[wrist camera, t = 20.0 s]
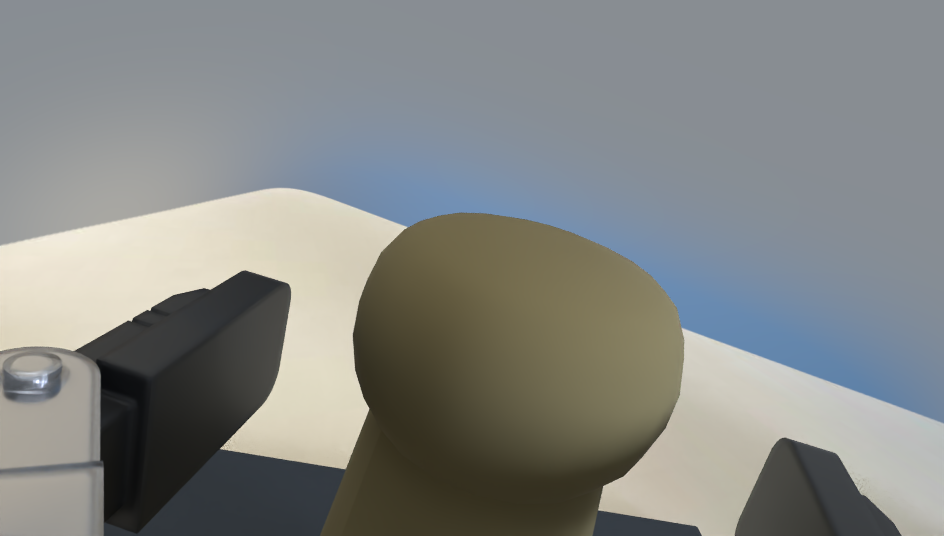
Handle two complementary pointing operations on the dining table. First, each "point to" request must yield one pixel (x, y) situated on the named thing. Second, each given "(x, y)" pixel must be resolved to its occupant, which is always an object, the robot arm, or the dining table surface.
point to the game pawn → (502, 381)
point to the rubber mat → (296, 503)
